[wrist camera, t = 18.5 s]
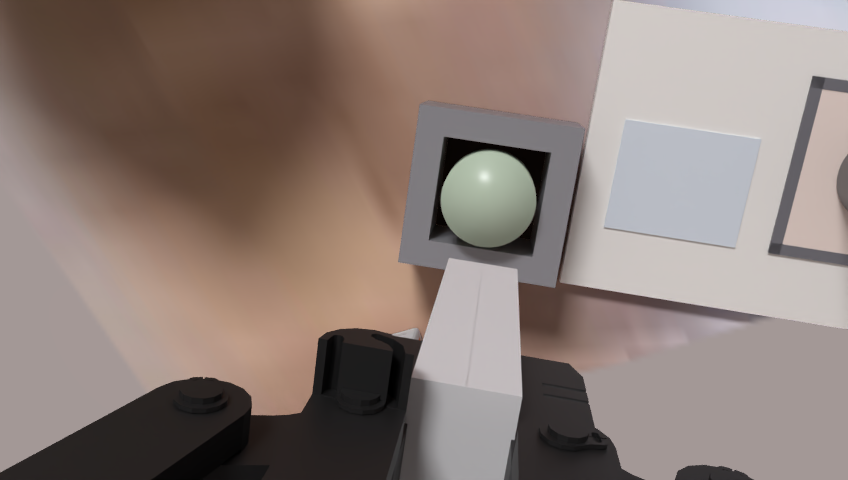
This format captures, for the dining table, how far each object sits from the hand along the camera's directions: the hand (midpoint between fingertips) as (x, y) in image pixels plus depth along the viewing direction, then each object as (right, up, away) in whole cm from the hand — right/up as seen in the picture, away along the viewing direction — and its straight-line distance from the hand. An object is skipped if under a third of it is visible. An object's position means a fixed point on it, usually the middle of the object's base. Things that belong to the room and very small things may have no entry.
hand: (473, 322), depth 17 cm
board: (+15, +5, +18) cm, 24 cm away
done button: (+2, +4, +17) cm, 18 cm away
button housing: (+2, +4, +20) cm, 20 cm away
